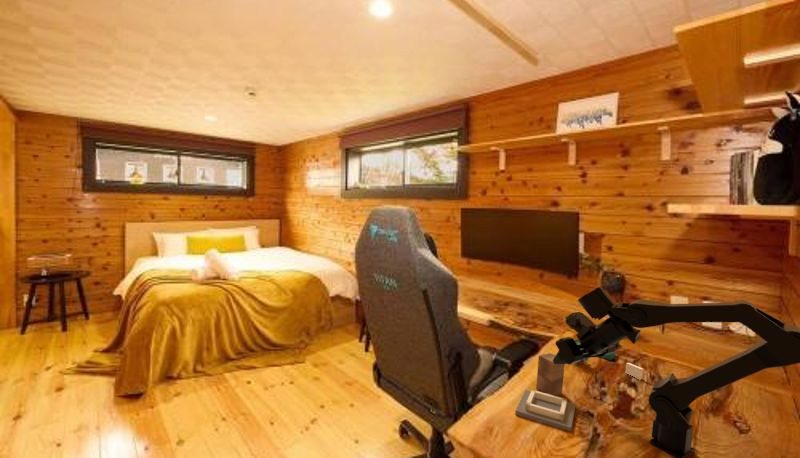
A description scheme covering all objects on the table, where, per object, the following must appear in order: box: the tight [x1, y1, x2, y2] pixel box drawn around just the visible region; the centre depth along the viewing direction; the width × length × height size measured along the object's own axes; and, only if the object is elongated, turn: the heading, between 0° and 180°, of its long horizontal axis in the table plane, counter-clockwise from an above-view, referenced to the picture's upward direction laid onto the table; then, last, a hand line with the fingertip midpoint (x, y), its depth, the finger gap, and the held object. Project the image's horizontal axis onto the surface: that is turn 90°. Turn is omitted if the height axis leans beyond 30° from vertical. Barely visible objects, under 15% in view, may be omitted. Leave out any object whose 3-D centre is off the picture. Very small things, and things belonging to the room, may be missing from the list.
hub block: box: [535, 352, 566, 396], centre depth 110 cm, size 5×5×10 cm
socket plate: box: [514, 389, 576, 432], centre depth 99 cm, size 13×13×2 cm
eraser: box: [624, 362, 644, 381], centre depth 123 cm, size 1×5×4 cm, turn 24°
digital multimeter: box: [574, 338, 616, 361], centre depth 143 cm, size 7×15×3 cm, turn 51°
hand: (564, 359), depth 106 cm, fingers open, 9 cm apart
